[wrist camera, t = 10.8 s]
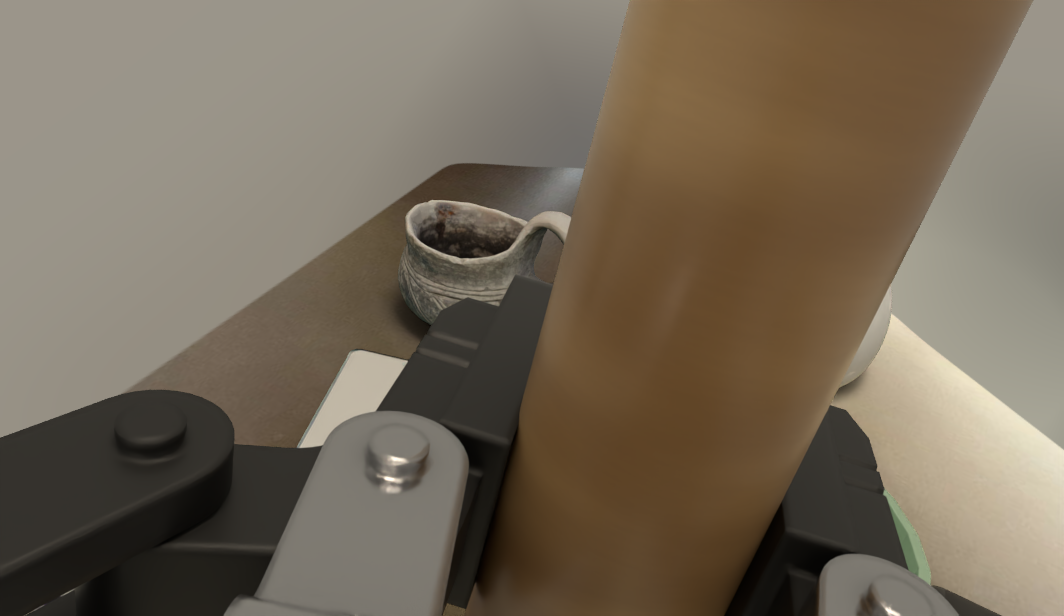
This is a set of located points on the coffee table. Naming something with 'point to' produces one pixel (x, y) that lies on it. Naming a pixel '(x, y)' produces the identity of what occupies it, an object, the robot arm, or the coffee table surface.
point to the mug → (468, 253)
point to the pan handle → (964, 604)
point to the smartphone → (353, 392)
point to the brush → (721, 285)
